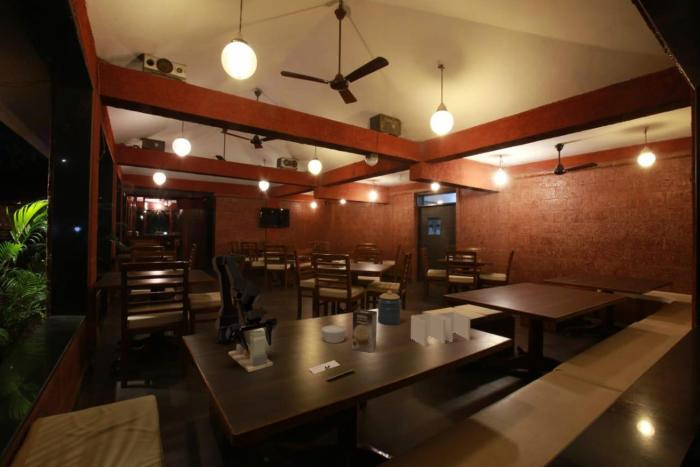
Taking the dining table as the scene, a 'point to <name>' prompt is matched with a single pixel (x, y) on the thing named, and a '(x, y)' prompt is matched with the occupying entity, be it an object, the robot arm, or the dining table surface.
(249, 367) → the cable comb board
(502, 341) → the dining table surface
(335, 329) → the ramekin
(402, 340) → the dining table surface
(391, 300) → the canister
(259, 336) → the marker sleeve
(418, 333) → the white folding screen
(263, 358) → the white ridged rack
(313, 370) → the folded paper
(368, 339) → the coffee box
